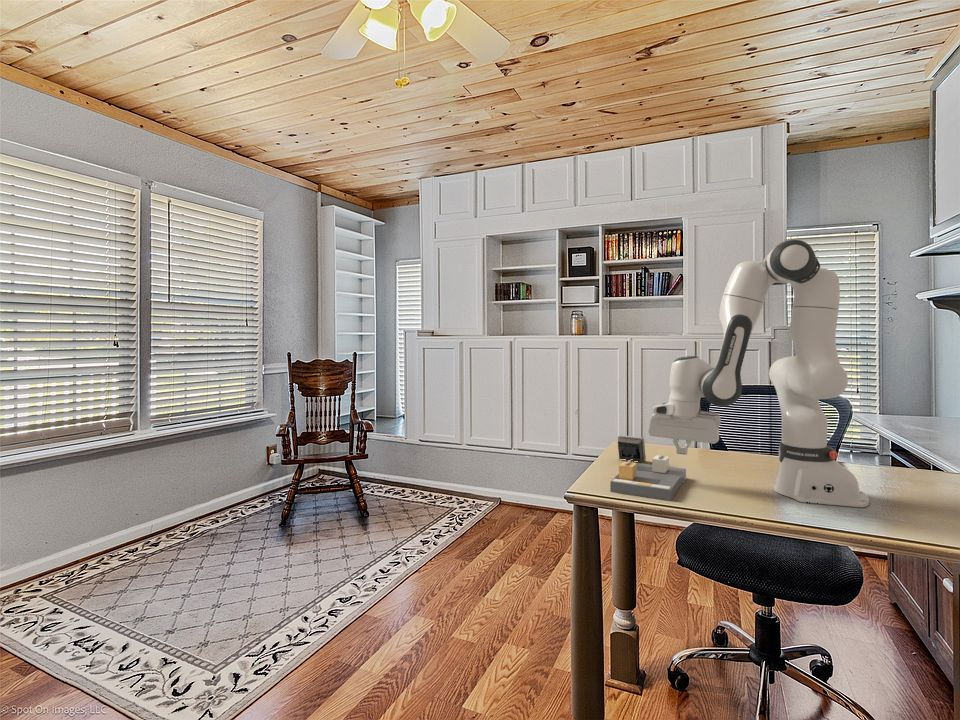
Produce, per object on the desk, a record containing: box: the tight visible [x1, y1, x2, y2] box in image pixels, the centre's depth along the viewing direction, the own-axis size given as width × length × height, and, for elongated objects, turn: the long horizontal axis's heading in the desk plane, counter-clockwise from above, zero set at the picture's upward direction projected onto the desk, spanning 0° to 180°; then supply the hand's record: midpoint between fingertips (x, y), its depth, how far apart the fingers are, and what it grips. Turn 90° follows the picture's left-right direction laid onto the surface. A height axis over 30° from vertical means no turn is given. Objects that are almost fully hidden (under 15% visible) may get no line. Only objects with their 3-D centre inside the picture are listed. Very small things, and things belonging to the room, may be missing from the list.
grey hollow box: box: [617, 434, 647, 463], centre depth 187 cm, size 9×5×9 cm, turn 57°
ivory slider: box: [651, 454, 670, 473], centre depth 164 cm, size 4×5×5 cm
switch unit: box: [609, 462, 687, 502], centre depth 161 cm, size 17×24×3 cm
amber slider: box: [618, 461, 637, 480], centre depth 158 cm, size 4×5×5 cm
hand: (681, 453), depth 161 cm, fingers closed
